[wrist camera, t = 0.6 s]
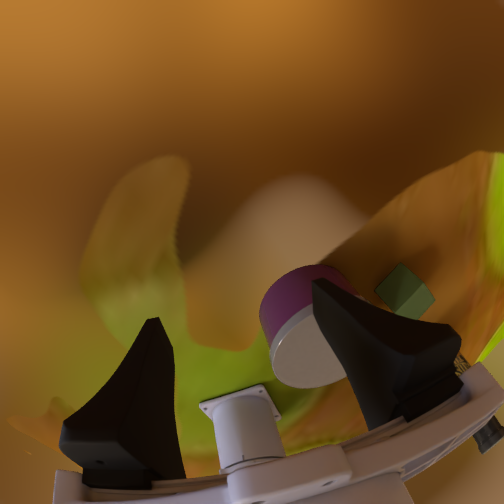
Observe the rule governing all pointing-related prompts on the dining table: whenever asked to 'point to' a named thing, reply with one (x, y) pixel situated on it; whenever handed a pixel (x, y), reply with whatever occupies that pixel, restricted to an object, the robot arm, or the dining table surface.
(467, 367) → the sauce bottle
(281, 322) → the jar
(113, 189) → the dining table surface
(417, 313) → the block
